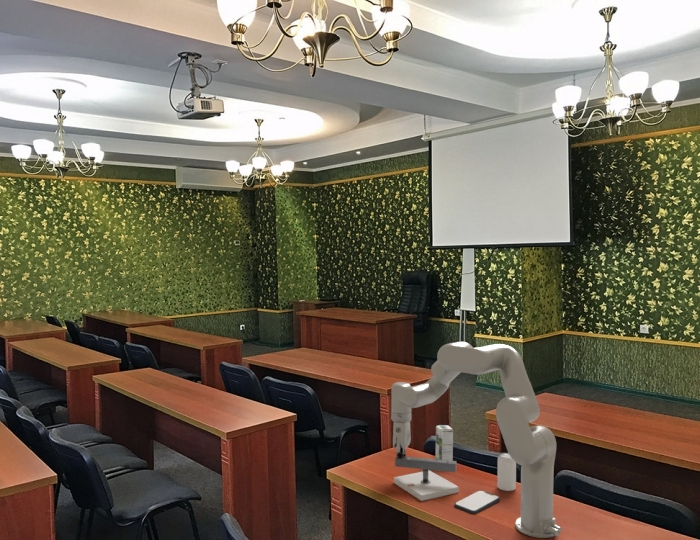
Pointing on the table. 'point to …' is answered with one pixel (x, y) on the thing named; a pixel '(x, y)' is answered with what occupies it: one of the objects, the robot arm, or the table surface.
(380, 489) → the table surface
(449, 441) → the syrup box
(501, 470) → the can
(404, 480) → the key plate
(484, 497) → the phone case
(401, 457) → the t key
